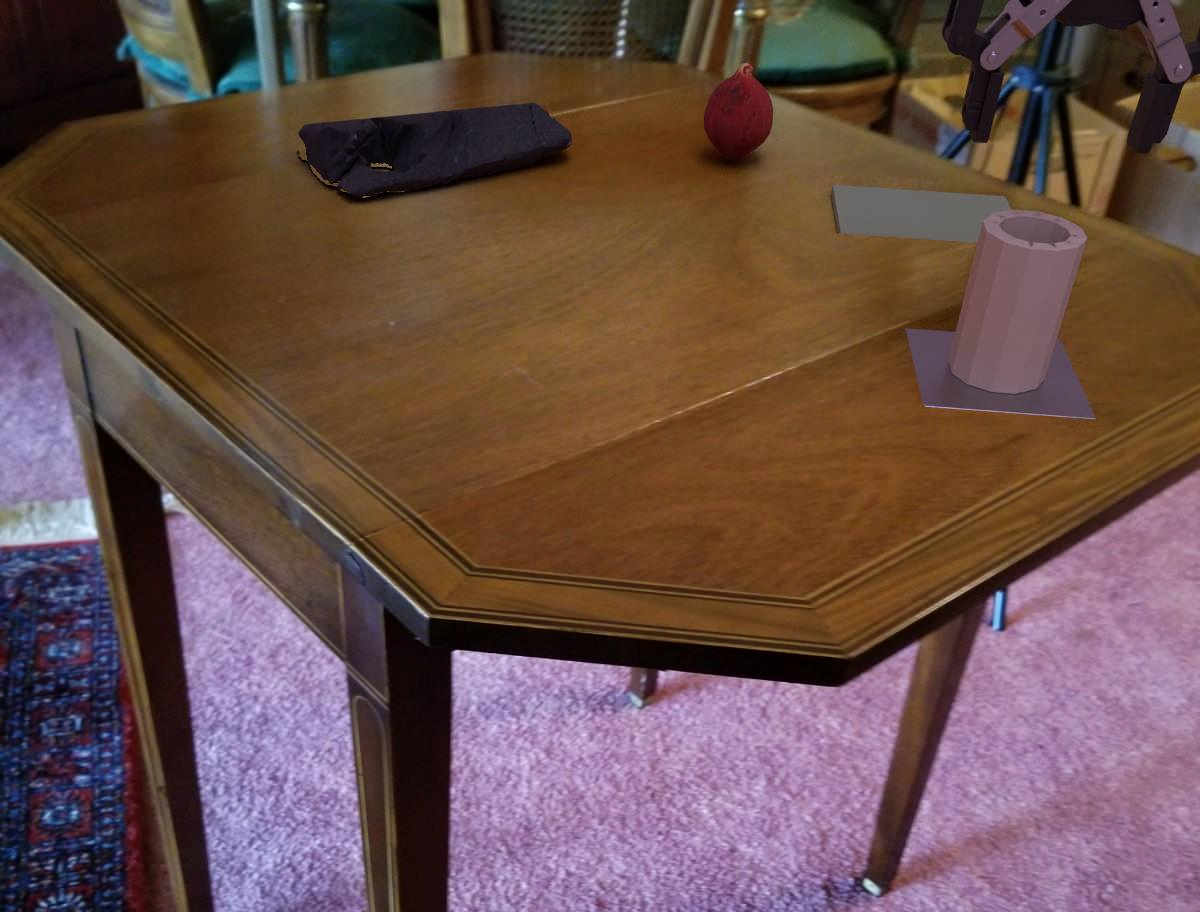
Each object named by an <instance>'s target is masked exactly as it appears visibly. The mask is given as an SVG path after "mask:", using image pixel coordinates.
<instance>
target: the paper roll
mask: <svg viewBox="0 0 1200 912" xmlns="http://www.w3.org/2000/svg"><path fill="white" fill-rule="evenodd" d="M1087 241H1088V236H1087V235H1086V233H1085V231H1084V230H1083V228H1082V227H1081V226H1080V225H1079V226H1078V225H1077V224H1075V223H1073V222H1072V221H1069V220H1067V219H1066V218H1064V217H1061V216H1057V215H1054V214H1050V213H1045V212H1042V211H1039V210H1022V209H1011V210H1008V211H1002V212H996V213H992V214H991V215H990V216H989V217H987V218H986V219H985V220H984V221H983V222H982V226H981V230H980V234H979V238H978V242H977V243H976V247H975V251H974V254H973V259H972V263H971V267H970V271H969V276H968V280H967V284H966V288H965V292H964V297H963V300H962V304H961V307H960V312H959V316H958V321H957V324H956V329H955V331H954V332H955V336H954V340H953V344H952V349H951V353H950V357H949V365H950V368H951V372H952V374H954V375H955V376H957V377H958V378H959V379H961V380H962V381H963V382H965V383H966V384H968V385H971V386H974V387H977V388H980V389H983V390H986V391H989V392H995V393H1009V394H1018V393H1022V392H1026V391H1031V390H1035V389H1036V388H1037V387H1038V386H1039V385H1040V384H1041V383H1042V381H1043V380H1044V379H1045V376H1046V372H1047V369H1048V366H1049V363H1050V359H1051V356H1052V353H1053V349H1054V346H1055V343H1056V340H1057V339H1058V336H1059V333H1060V330H1061V326H1062V323H1063V319H1064V317H1065V313H1066V310H1067V307H1068V304H1069V300H1070V297H1071V294H1072V290H1073V287H1074V284H1075V280H1076V278H1077V273H1078V271H1079V268H1080V264H1081V261H1082V258H1083V254H1084V251H1085V247H1086V244H1087Z"/></svg>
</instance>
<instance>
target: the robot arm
mask: <svg viewBox="0 0 1200 912" xmlns="http://www.w3.org/2000/svg"><path fill="white" fill-rule="evenodd" d="M984 2H985V0H949V2H948V5H947V9H946V13H945V16H944V20H943V24H942V28H941V36H942V38H943V40H944V41H945V43H946V46H947V49H948V51H949V52H950V53H951V54H952V55H955V56H961V57H963V58H965V59H967V60H969V61H970V62H971V67H970V72H969V75H968V81H967V84H966V90H965V94H964V97H963V103H962V107H961V111H960V114H961V121H962V123H963V126H964V128H965V130H966V131H967V132H968V134H969V137H970V138H971V140H972V142H973V143H975V144H976V143H977V144H988V142H989V140H990V136H991V132H992V128H993V123H994V118H995V115H996V111H997V107H998V104H999V100H1000V95H1001V91H1002V87H1003V82H1004V79H1005V74H1006V73H1005V71H1004V69H1003V68H1002V65H1003V64H1004V63H1005V62H1006V61H1007V60H1008V59H1009V58H1010V57H1011V56H1012V55H1013V54H1014V53H1016V51H1017V50H1018V49H1019V48H1020V47H1021V46H1022V45H1023V44H1025V42H1027V41H1028V40H1031V39H1033V38H1035V37H1036V36H1037V35H1038V34H1039V33H1040V32H1041V31H1042V30H1044V28H1046V27H1047V25H1048V24H1050V22H1052V21H1053V19H1054V20H1055V21H1057V22H1060V23H1061V24H1062V26H1064V27H1074V28H1080V27H1084V26H1090V25H1095V24H1096V25H1099V26H1102V27H1104V28H1107V29H1110V30H1121V31H1127V28H1128V27H1130V26H1132V25H1133V26H1134V25H1135V24H1137V25H1138V27H1139V30H1140V32H1141V33H1142V35H1143V37H1144V39H1145V42H1146V44H1147V47H1148V51H1149V52H1150V54H1151V55H1150V56H1151V57H1152V60H1153V62H1154V65H1155V66H1154V69H1153V71H1151V70H1148V71H1147V73H1146V75H1145V78H1144V82H1143V85H1142V88H1141V91H1140V94H1139V97H1138V101H1137V104H1136V106H1135V107H1136V108H1135V110H1134V113H1133V117H1132V119H1131V123H1130V125H1129V126H1130V127H1129V129H1128V133H1127V137H1126V144H1127V146H1128V148H1129V149H1130V150H1131V151H1132V153H1133V154H1140V155H1148V154H1150V152H1151V150H1152V148H1153V144H1159V145H1160V144H1161V143H1162V141H1163V140H1164V139H1165V137H1166V136H1167V135H1168V132H1169V129H1170V127H1171V122H1172V120H1173V118H1174V114H1175V112H1176V108H1177V105H1178V102H1179V99H1180V97H1181V94H1182V91H1183V88H1184V86H1185V85H1186V83H1187V82H1188V80H1190V79H1191V78H1192V77H1195V76H1196V75H1200V26H1199V27H1198V31H1197V34H1196V38H1195V41H1191V42H1188V43H1184V40H1183V38H1182V29H1181V27H1180V24H1179V22H1178V19H1177V16H1176V14H1175V11H1174V8H1173V6H1172V3H1171V1H1170V0H1008V2H1006V5H1005V6H1004V8H1003V11H1002V12H1001V13H1000V14H999V15H998V16H997V17H996V18H995V19H994V20H993V21H992V22H991V23H990V24H989V25H988V26H986V28H985V29H984V30H980V29H978V28H977V26H978V24H979V20H980V16H981V12H982V9H983V6H984Z"/></svg>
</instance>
